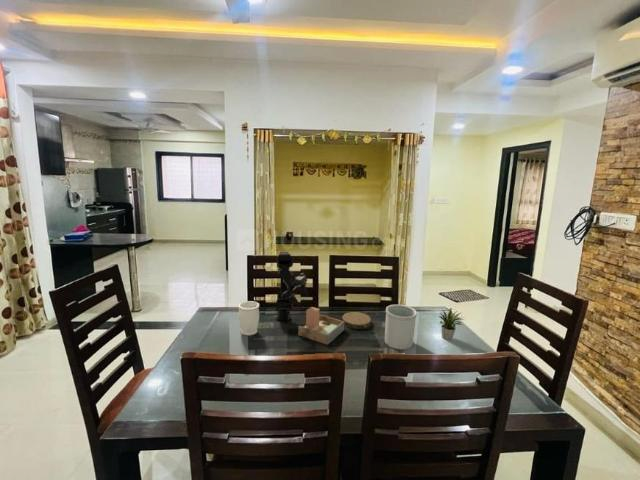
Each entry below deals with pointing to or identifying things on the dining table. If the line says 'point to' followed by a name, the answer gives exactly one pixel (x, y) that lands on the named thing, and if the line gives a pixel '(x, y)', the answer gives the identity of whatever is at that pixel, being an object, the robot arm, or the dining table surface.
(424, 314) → the dining table surface
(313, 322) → the terracotta block
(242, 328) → the jar
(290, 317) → the robot arm
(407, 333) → the utensil holder
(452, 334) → the house plant
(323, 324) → the board
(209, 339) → the dining table surface
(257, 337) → the dining table surface
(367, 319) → the wood slice
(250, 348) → the dining table surface
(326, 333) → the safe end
